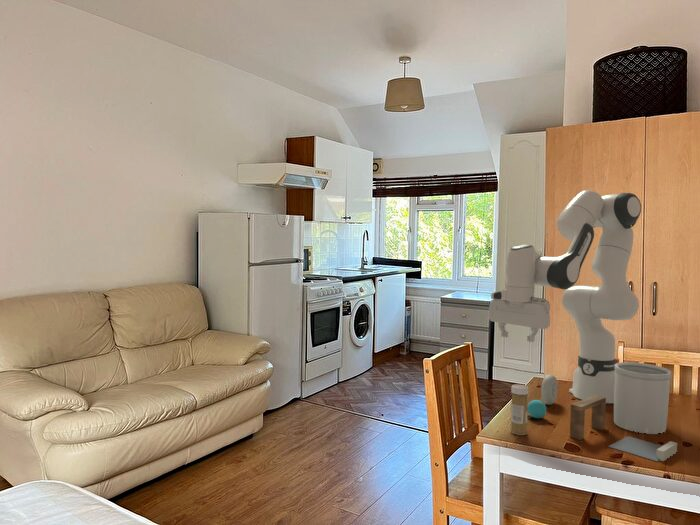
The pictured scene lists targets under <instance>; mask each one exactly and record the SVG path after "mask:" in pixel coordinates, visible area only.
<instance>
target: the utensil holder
mask: <svg viewBox="0 0 700 525" xmlns="http://www.w3.org/2000/svg"><path fill="white" fill-rule="evenodd" d="M672 374H673V373H672V371H671V369H668V368H666V367H663V366H661V365H655V364H650V363H643V362H632V361H629V362H628V361H627V362H626V361H624V362H619V363H617V364H615V389H614V403H613V422H614V425H616V426H618V427H619V428H621V429H624V430H627V431H630V432H633V431H634V433H638V432H639V434H644V433H646V434H645V435H659V434H658V433H661V434H664V433H666V431H667V426H668V425H667V424H668V423H667V422H668V415H669V413H668V412H669V400H670V388H671V387H670V386H671V378H672ZM663 432H664V433H663Z"/></svg>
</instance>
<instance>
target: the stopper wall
mask: <svg viewBox="0 0 700 525" xmlns="http://www.w3.org/2000/svg"><path fill="white" fill-rule="evenodd" d="M661 446H662V447H660V448H658V449H657V453H656V459H659V462H660V461H661V462H664V461H666V460H668V459H669V458H671V457H672V456H674V455H675V454H677V453H678V442H675V441H670V440H669V441H668V442H666V443H664V444H663V445H661ZM676 452H677V453H676ZM673 454H674V455H673ZM670 456H671V457H670ZM667 458H668V459H667Z"/></svg>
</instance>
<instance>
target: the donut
mask: <svg viewBox="0 0 700 525" xmlns="http://www.w3.org/2000/svg"><path fill="white" fill-rule="evenodd" d="M558 389H559V385H558V380H557V377H556V376H555V375H553V374H551V373H550V374H547V375H545V376H544V377H543V380H542V383H541V389H540V392H541V394H540V395H541V399H542V400H541V401H542V402H543V403H544V404H545V405H547V406H551V405H553V404H554V403H555V402H556V399H557V397H558V396H557V395H558Z"/></svg>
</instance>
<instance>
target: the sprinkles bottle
mask: <svg viewBox="0 0 700 525" xmlns="http://www.w3.org/2000/svg"><path fill="white" fill-rule="evenodd" d="M510 390H511V391H510V392H511V409H510V411H511V412H510V413H511V415H510V433H511V434H513V435H515V434H516V435H515V436H526V435H527V434H528V431H527V430H528V396H529V387H528V386H527V385H525V384H516V383H515V384H511V389H510Z"/></svg>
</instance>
